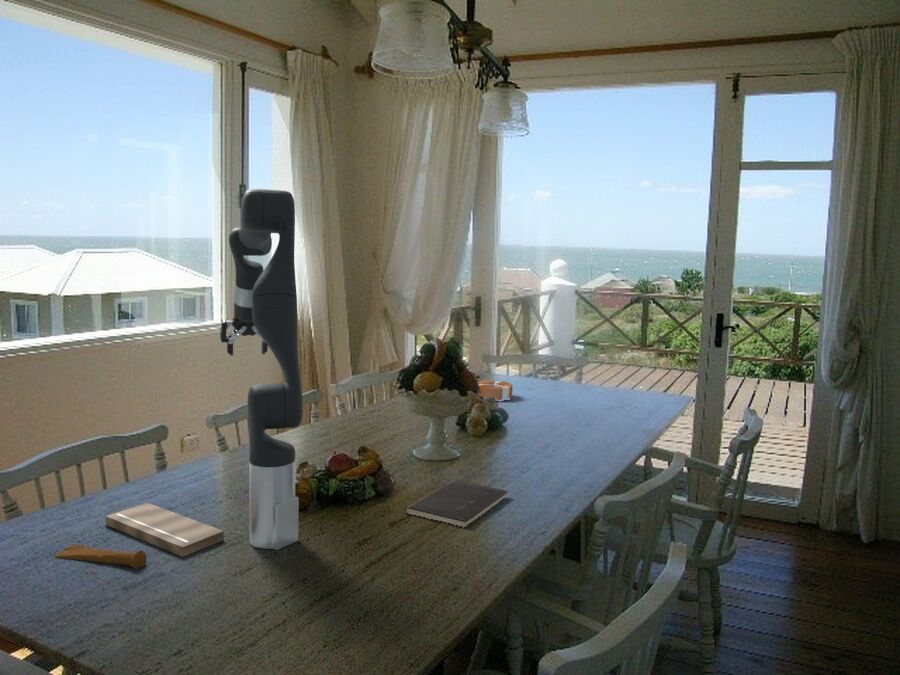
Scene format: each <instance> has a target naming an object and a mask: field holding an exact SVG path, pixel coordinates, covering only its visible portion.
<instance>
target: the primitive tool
mask: <svg viewBox="0 0 900 675" xmlns="http://www.w3.org/2000/svg"><path fill="white" fill-rule="evenodd" d="M52 557H53V558H55V559H56V558H57V559H63V558H66V559H65V560H74V559H78V560H77V561H83V560H85V562H92V561H95V563H101V562H103V563H102V564H110V563H114V564H113V565H115V564H116V565H120V564H122V565H123V566H128V567H131V568H133V569H134V570H138V568H139V569H141V568H143V567H144V566H145V565H146V563H147V557H148V556H147V554H146V552H145V551H144V550H143V549H141V550H138V551H119V550H112V549H102V548H94V547H89V546H85V545H84V544H79V545H78V544H71V545H69V546H68V547H66V548H65V549H63V550H61V551H59V552H58V553H56V554H55V555H53V556H52ZM122 565H121V566H122ZM140 567H141V568H140Z"/></svg>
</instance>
